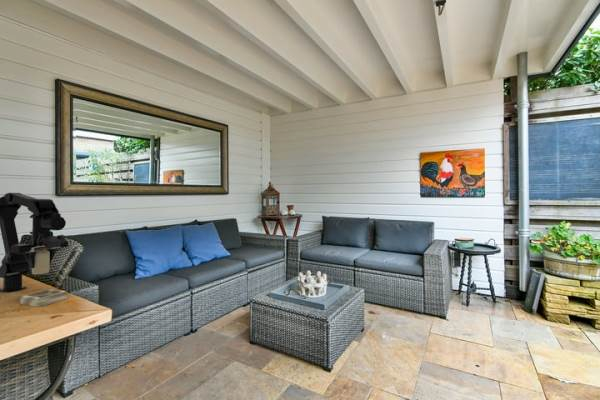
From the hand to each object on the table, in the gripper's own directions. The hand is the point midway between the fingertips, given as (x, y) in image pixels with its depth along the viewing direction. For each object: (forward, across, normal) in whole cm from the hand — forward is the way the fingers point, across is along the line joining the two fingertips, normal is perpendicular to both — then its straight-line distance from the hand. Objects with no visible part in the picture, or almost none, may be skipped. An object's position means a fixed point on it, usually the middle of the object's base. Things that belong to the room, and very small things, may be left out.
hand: (40, 266), depth 125 cm
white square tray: (+12, -5, -10) cm, 16 cm away
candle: (+3, 0, 0) cm, 3 cm away
